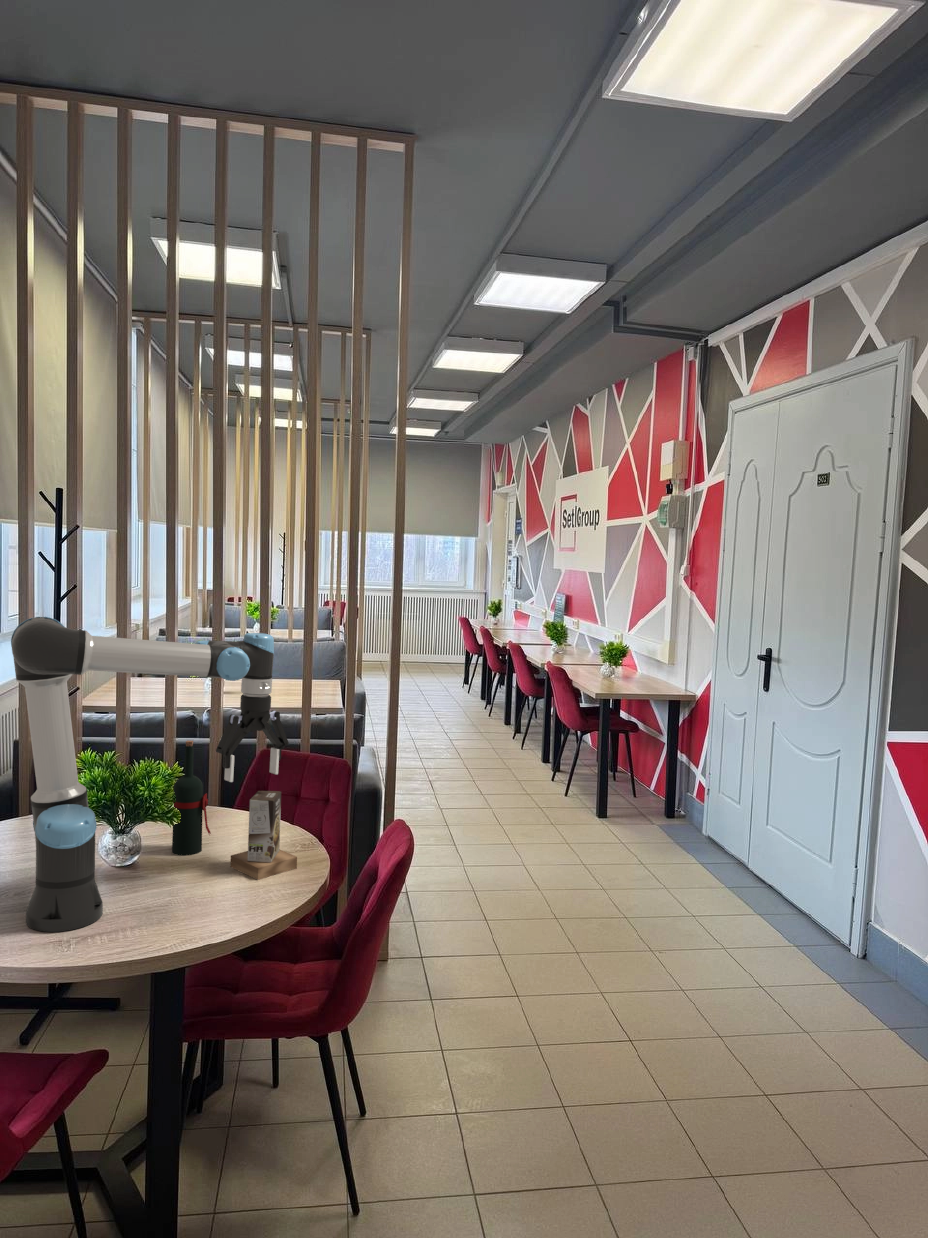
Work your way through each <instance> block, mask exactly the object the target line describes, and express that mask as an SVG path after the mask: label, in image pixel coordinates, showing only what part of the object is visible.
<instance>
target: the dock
mask: <svg viewBox="0 0 928 1238" xmlns="http://www.w3.org/2000/svg"><path fill="white" fill-rule="evenodd" d="M230 868H232V869H234V870H236V871H239V872H241V873H243V874H245V875H247V876H249V877H250V878H252V879H255V880H257V881H258V880H262V879H266V878H269V877H272V876H275V875H279V874H281V873H285V872H288V871H293V870H294V869H297V868H298V856H296V855H293V854H291V853H289V852H287V851H284V850H281V849H280V848H279V852H278V853H277V855H276V856H275V858H274V859H273V860H272V862H270V863H269V862H254V861H248V850H245V851H243V852H238V853H236V854H231V855H230Z"/></svg>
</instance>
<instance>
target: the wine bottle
mask: <svg viewBox="0 0 928 1238" xmlns="http://www.w3.org/2000/svg"><path fill="white" fill-rule="evenodd" d="M194 748H195V746H194V740H186V741H185V749H184V751H185V752H184V775H182V776H181V777H180V778H177V780H176V781H175V782H176V783H174V785H173V793H174V792H175V795H176V802H175V803H174V802H173V803H174V807H175V808H177V809H178V810H179V811H180V813H181V819H180V821H181V822H180V823H178V824H175V825H173V824H172V837H171V838H172V842H171V844H172V845H171V854H173V855H175V856H183V857H185V856H194V855H198V854H199V853H201V852H202V851H203V817H204V824H205V829H206V831H207V834H208V835H209V836H211V835H212V833H211V830H210V828H209V826H208V817H207V806H208V804H209V799H208V793H204V784H203V782H202V780H201V779H200V778H199V777H198V776H196V775H194V755H195V754H194V753H195V752H194V751H195V749H194ZM203 813H204V815H203Z"/></svg>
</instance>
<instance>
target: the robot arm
mask: <svg viewBox="0 0 928 1238" xmlns="http://www.w3.org/2000/svg"><path fill="white" fill-rule="evenodd" d="M10 644H11V653H12V658H13V663H14V664H13V665H14V666H13V667H14V672H15V679H16V682H18V683H19V684H20V685H22V686H23V688H24V690H25V692H24V693H25V698H26V707H27V708H26V709H27V714H28V725H29V732H30V733H29V734H30V740H31V741H30V742H31V748H32V758H33V766H34V773H35V774H34V775H35V782H36V790H35V792H34V793H33V794H32V795H31V796H30V804H31V811H32V826H33V831H34V838H35V839H34V840H35V887H34V889H33V892H32V894H31V897H30V900H29V903H28V906H27V909H26V911H25V924H26V923H27V924H26V926H27V925H28V926H29V927H28V926H27V927H28V928H30V929H32V930H35V931H39V932H49V933H55V932H56V933H57V932H67V931H73V930H77V929H81V928H84V927H87V926H88V925H92V924H93V923H95V922H96V921H98V920H99V919H101V917H102V915H104V914H103V913H104V912H103V911H104V904H103V900H102V896H101V893H100V891H99V888H98V886H97V883H96V880H95V879H96V878H95V877H96V876H95V874H96V873H95V872H96V869H95V868H96V865H95V864H96V830H97V827H98V826H97V825H98V824H97V820H96V814H95V812H94V811H93V809H91V808H90V807H89V802H88V801H89V800H88V792H87V787H86V786H84V784H81V783H80V782H79V777H78V776H79V775H78V768H77V759H76V750H75V741H74V733H73V724H72V716H71V706H70V698H69V689H68V681H69V679H71V678H72V676H73V675H77V676H78V675H81V676H83V675H84V674H85V673H87V672H88V671H91V672H112V673H126V674H127V673H128V674H145V675H146V674H147V675H163V676H164V675H167V676H180V677H181V676H184V677H200V678H201V677H202V678H213V679H217V678H218V679H223V680H225V681H232V682H235V681H236V682H237V681H239V680H241V685H240V692H241V695H240V705H239V708H240V711H241V712H240V714H239V715H235V714H230V715H228V721H227V722H228V723H227V725H226V727H225V729H224V731H223V734H222V736H221V737H220V740H219V743H218V745H216V746H217V747H216V748H215V753H218V754H221V755H222V768H224V776H223V777H224V778H223V779H224V781H227V782H229V783H233V782H234V771H235V770H234V769H235V768H234V767H235V755H233V753H234V752H235V751H236V749H237V748H238V746H239V745H240V743H241V742H242V741H243V739H244V738H245V737H246V736H247V735H248V734H249V733H252V732H253V733H254V732H256V731H257V732H258V731H259V732H263V734H264V735H265V737H266V738H267V739H268V741H269V743H271V745H272V746H273V747H270V755H269V756H270V757H269V773H271V774H273V775H279V767H280V766H279V764H280V762H279V761H281V759H282V750H284V749H285V746H288V745H289V740H288V738H287V737H288V736H287V734H286V731H285V729H284V726H283V724H282V721H281V714H280V711H277V710H271V707H272V696H271V695H270V694H271V693H272V690H273V686H272V685H273V667H274V656H275V655H274V654H275V639H274V637H273V635H272V634H267V633H262V632H247V633H245V634H244V635H243V638H242V640H240V641H239V640H237V641H233V640H210V639H208V640H198V641H195V643H191V642H190V643H189V642H179V641H178V642H177V641H164V640H163V641H162V640H152V639H151V640H150V639H139V638H125V637H124V638H123V637H114V636H111V637H110V636H100V635H99V636H98V635H92V634H90V633H89V631H88V630H82V629H74V628H69V627H65V625H64V624H62V623H61V622H60V621H59V620H57V619H55V618H52V617H48V616H35V617H29V618H27V619H25V620H24V621H22V622H20V623H19V624H18V625H17V626H16V628H15V629H14V630H13V632H12V635H11V638H10ZM270 710H271V711H270ZM269 721H271V725H272V727H273V729H274V731H273V729H272V727H271V725H270V724H269Z"/></svg>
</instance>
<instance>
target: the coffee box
mask: <svg viewBox="0 0 928 1238" xmlns="http://www.w3.org/2000/svg"><path fill="white" fill-rule="evenodd" d="M281 807H282V791H278V790H258V791H257V792H255V794H254V795H253V796H251V798H250V799H249V813H248V839H247V851H248V861H254V862H269V863H270V862H272V860H273V859H274V858H275V856H276V855H277V853H278V852H279V849H280V845H281V844H280V843H281V840H280V839H281V813H282V812H281V811H282V808H281Z"/></svg>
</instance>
